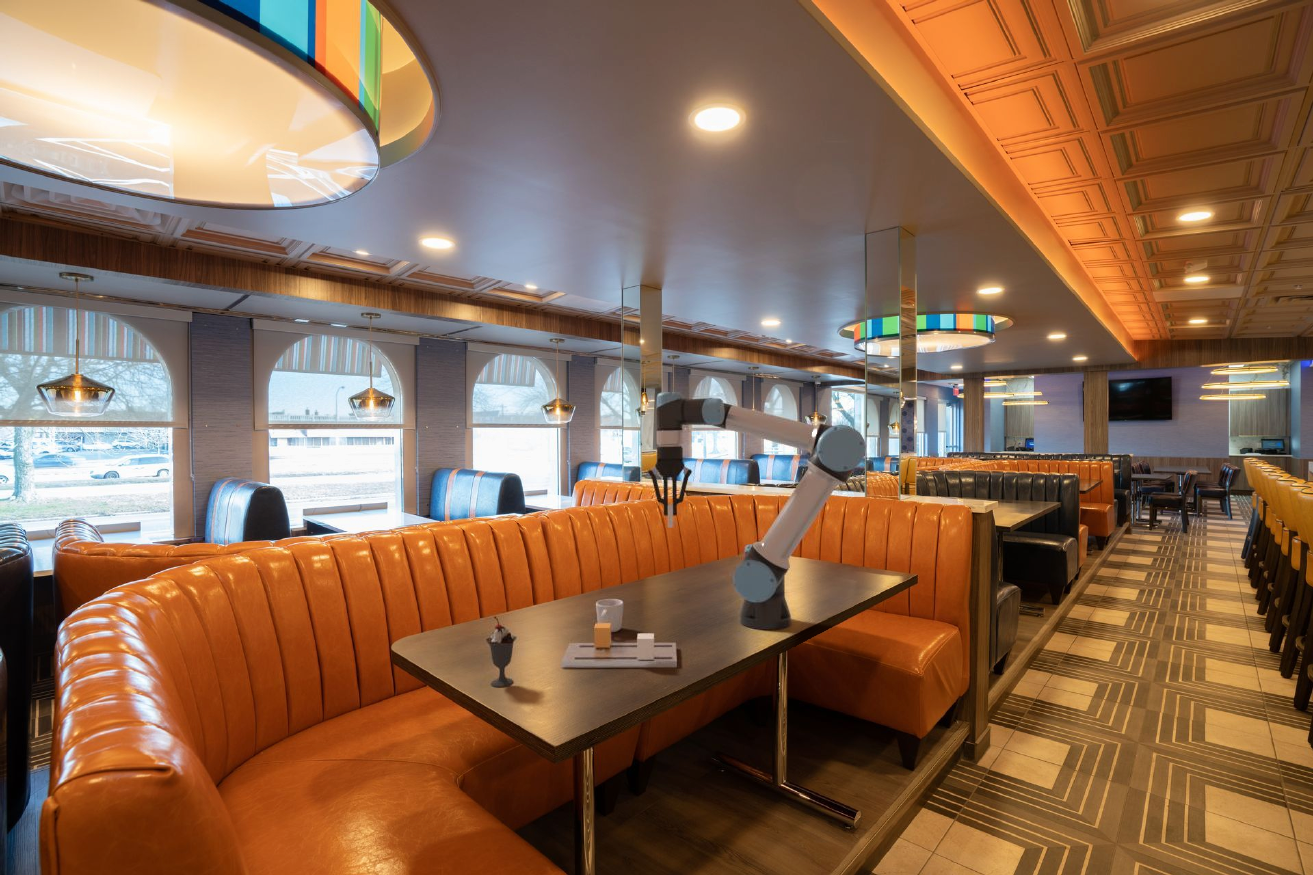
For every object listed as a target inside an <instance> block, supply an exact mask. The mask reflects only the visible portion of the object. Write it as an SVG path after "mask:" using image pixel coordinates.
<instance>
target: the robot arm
mask: <svg viewBox="0 0 1313 875" xmlns="http://www.w3.org/2000/svg"><path fill="white" fill-rule="evenodd" d="M655 410H656V412H655V413H656V414H655V416H656V445H657V447H656V463H655V466H654V467H653V468H651V469H648V473H647V474H648V475H649V476H650V478H651V480H652V484H653V487H654V493H655V496H656V500H657V502H658V503H659V504H661V505H663V516H664V517H665V516H666V517H667V528H668V529H669V528H671V529H672V528H674V517H675V516H677V515H678V504H680V503H683V502H684V498H685V494H686V489H687V485H688V481H689V477H690V476H691V474H692V473H693V472H692V471H693V470H692V469H691V468H690V469H689V467H687V466H685V462H684V461H683V458H684V455H683V453H684V451H683V449H684V448H683V446H682V445H683V443H684V442H683V441H684V440H683V438H684V437H683V435H684V434H683V433H684V432H683V426H691V425H692V426H695V425H697V426H713V427H717V428H719V429H723V430H729V431H732V432H736V433H740V434H744V435H747V436H751V437H755V438H758V439H762V440H766V441H768V442H769V441H770V442H773V443H777V444H781V445H785V446H789V447H792V448H797V449H800V450H804V451H808V453H809V457H808V458H807V460H806V462H807V470H806V471H805V473H804V475H803V476H802V478H801V479H800V481H799V482H798V484H797V485H796V487H795V489H794V490H793V492H792V493H791V495H790V497H789V498H788V500H787V501H786V503H785V504H784V506H783V507H782V509H781V511H780V512H779V513H778V515H777V516H776V518H775V519H774V521H773V523H772V525H771V526H770V527H769V529H768V531H767V532H766V533H765V535H764V537H763V538H762V539H761V541H755V542H753V543H752V544H747V545H745V546H744V552H743V554H744V557H743V559H742V560H741V562H740V563H739V564H737V565H736V567H735V569H734V573H733V575H732V582H733V587H734V589H735V590H736V592H737V593H738V595H739V596H740V597H742V598H743V601H742V604H741V608H740V610H739V623H740V624H741V625H743V626H745V627H747V628H752V629H758V630H779V629H785V628H787V627H790V626H791V624H792V617H791V612H790V609H789V606H788V603H787V599H786V596H785V595H786V594H785V593H786V592H785V591H786V590H785V589H786V587H785V585H786V584H785V575H787V573H788V571H789V569H790V568H791V566H790V560H789V559H790V557H791V556H792V554H793V553H794V551H795V550H796V548H797V547H798V546H799V544H800V542H801V541H802V539H803V538H804V537H805V534H806V533H807V532H808V530H809V529H810V527H811V526H812V524H813V522H815V520H816V518H817V516H818V515H819V514H820V512H821V511H822V510H823V507H824V506H825V504H826V503H827V501H828V500H829V498H830V496H831V495H832V493H834V490H835V489H836V488H837V487H838V486H841V485H845V484H846V483H847V482H848V480H849V479H850V477H851V476H852V474H853V473H854V471H855V469H856V468H857V466H859V465H860V464H861V463H862V461H863V460H864V457H865V455H866V449H867V448H866V442H865V439H864V437H863V435H862V434H861V432H859V430H857V429H856V428H854V427H852V426H850V425H847V424H837V425H829V424H824V423H820V422H819V423H818V424H816V425H814V424H810V423H806V422H802V421H799V420H794V419H791V418H790V419H789V418H785V417H781V416H777V415H773V414H769V413H766V412H763V411H758V410H754V409H750V408H747V407H746V408H745V407H741V406H738V405H735V404H729V403H725V402H724V401H723V400H722V399H721V398H720V397H719V398H718V397H717V398H715V397H707V398H684V397H683V394H682V393H681V392H679V391H677V392H675V391H673V392H671V391H668V392H667V391H665V392H663V391H662V392H659V393H658V394H657V396H656V407H655ZM682 471H683V472H682ZM657 472H658V473H659V474H660V476H662V478H663V498H662V496H661V490H660V487H659V483H658V479H657V477H656V475H657ZM681 473H682V474H683V475H684V476H683V478H682V484H681V488H680V492H679V495H678V490H677V487H678V486H677V485H678V484H677V483H678V482H677V481H678V480H677V478H678V477H679V476H680V474H681ZM669 478H671V480H672V481H671V482H672V483H671V484H672V486H671V487H672V490H671V491H672V493H671V494H672V503H669V499H668V498H669V497H668V496H669V493H668V492H669V484H668V483H669V481H668V480H669Z"/></svg>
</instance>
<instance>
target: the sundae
mask: <svg viewBox="0 0 1313 875" xmlns="http://www.w3.org/2000/svg"><path fill="white" fill-rule="evenodd" d="M493 619H496V621H497V625H495V627H494V631H492V634H491V636H490V637H487V638H486V639H485V640H486V643H487V644H488V645H489V647H490V652H491V661H492V664H493V665H494V666H495V667H496V668H498V670H499V674H498V675H499V676H498V678H497V679H494V680H492V681H491V683H490V685H491V686H492V687H493V688H506V687H508V686H511V685H512V684H514V680H513V679H512V678H510V677H506V673H505V669H506V668H507V666H509V664H510V663H511V661H512V657H513V650H514V649H513V648H514V642H515V641H516V640H517V636H515V635H512V633H511V632H509V629H508V628H507V627H506V626H503V625H502V624H500V623H499V619H498V618H497V616H495V615H494V616H493Z"/></svg>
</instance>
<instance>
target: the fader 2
mask: <svg viewBox="0 0 1313 875" xmlns="http://www.w3.org/2000/svg"><path fill="white" fill-rule="evenodd" d="M636 643H637V660H650V659H654V643H655V633H649V632H648V633H643V632H641V633H637V637H636Z"/></svg>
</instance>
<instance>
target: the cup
mask: <svg viewBox="0 0 1313 875" xmlns="http://www.w3.org/2000/svg"><path fill="white" fill-rule="evenodd" d="M595 610H596V618H597V623H611V633H615V632H618V631H619V630H621V629H622V624H623V615H624V601H623V600H621V599H617V598H606V599H605V598H604V599H599V600H598V601H596V603H595Z"/></svg>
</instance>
